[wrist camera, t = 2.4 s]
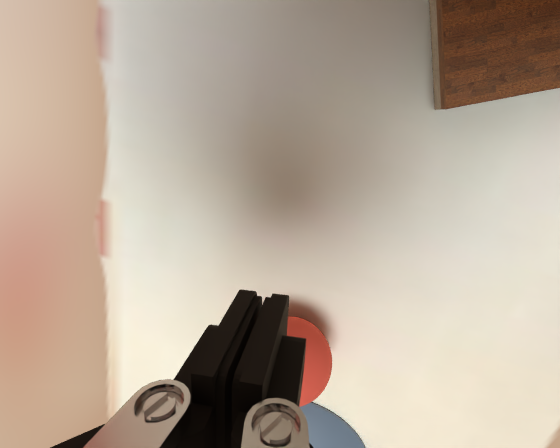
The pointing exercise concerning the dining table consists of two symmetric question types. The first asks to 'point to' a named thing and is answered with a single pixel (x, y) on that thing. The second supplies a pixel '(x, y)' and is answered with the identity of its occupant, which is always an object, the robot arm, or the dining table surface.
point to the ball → (312, 358)
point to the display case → (493, 49)
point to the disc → (329, 429)
